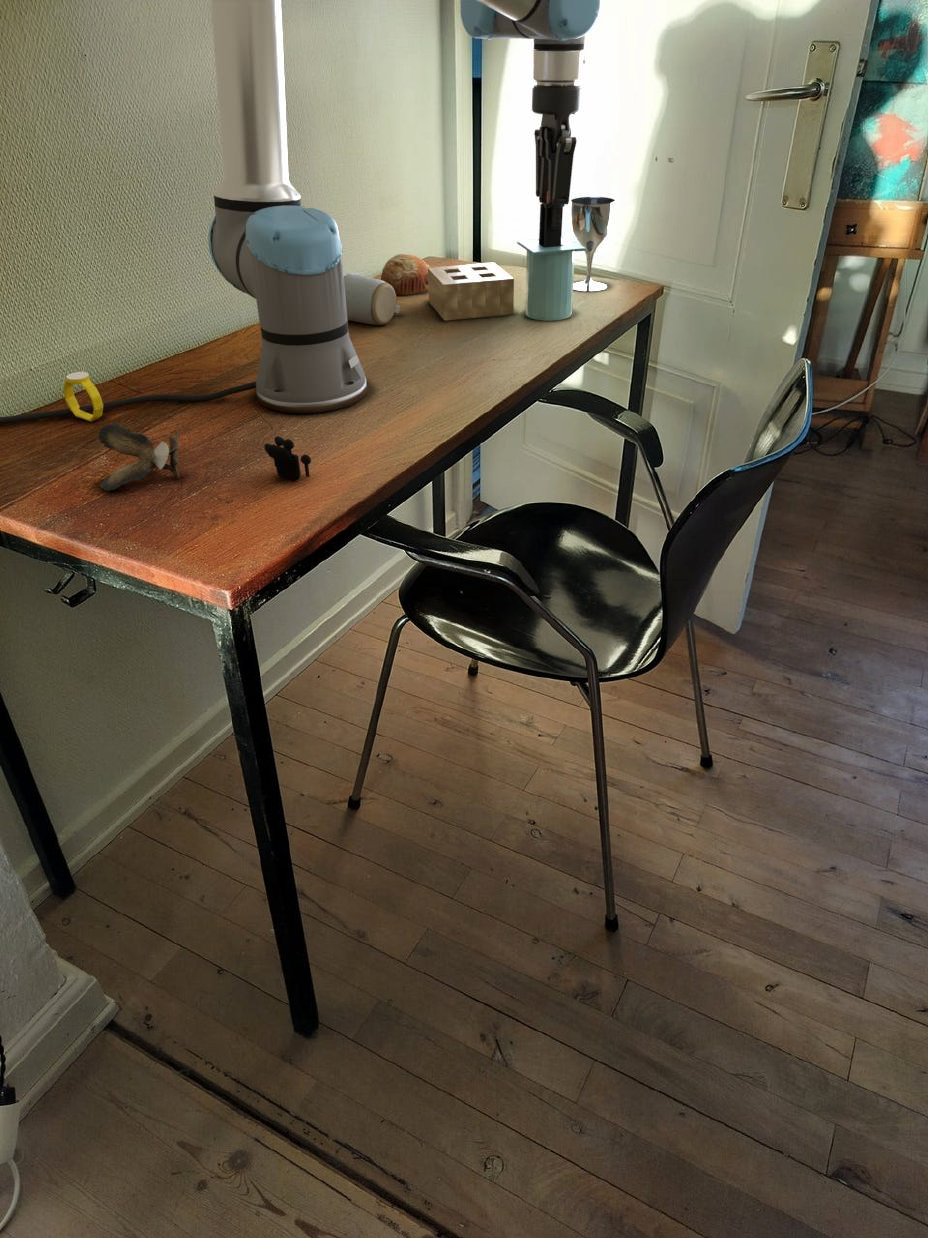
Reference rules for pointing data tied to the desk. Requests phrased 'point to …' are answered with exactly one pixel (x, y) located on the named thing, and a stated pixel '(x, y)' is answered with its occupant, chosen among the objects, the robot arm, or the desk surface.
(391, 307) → the ceramic mug
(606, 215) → the wine glass
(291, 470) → the wireless earbuds
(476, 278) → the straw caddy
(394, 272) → the muffin
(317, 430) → the desk surface
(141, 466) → the eagle figurine
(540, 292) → the light blue pen holder
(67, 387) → the watch
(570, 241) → the lid
